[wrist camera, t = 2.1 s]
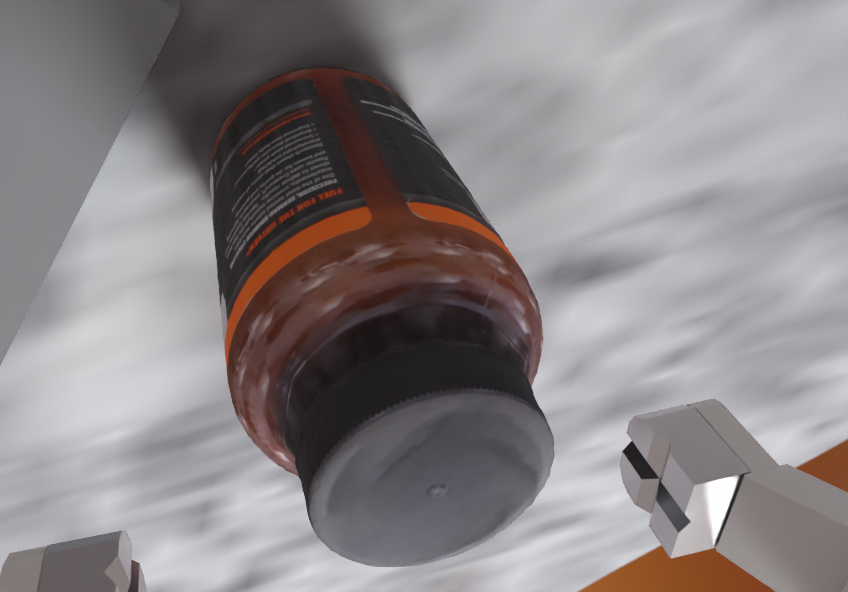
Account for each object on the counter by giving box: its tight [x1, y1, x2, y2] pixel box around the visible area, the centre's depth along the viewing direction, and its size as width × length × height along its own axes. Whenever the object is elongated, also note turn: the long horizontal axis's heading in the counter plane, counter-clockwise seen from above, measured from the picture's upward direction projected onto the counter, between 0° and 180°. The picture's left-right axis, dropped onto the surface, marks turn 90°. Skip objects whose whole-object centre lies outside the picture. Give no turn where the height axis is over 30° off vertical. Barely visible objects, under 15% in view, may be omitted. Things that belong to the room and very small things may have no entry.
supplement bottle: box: [210, 68, 554, 567], centre depth 15 cm, size 6×6×11 cm
